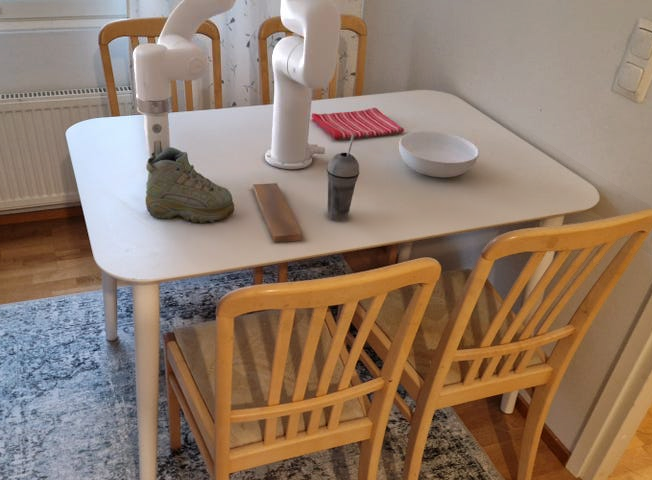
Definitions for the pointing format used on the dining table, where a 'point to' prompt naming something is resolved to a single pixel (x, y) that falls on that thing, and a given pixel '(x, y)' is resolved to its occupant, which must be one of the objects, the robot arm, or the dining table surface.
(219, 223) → the dining table surface
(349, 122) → the dish towel
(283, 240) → the oak board
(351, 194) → the beverage cup
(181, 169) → the sneaker
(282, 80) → the robot arm
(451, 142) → the serving bowl
